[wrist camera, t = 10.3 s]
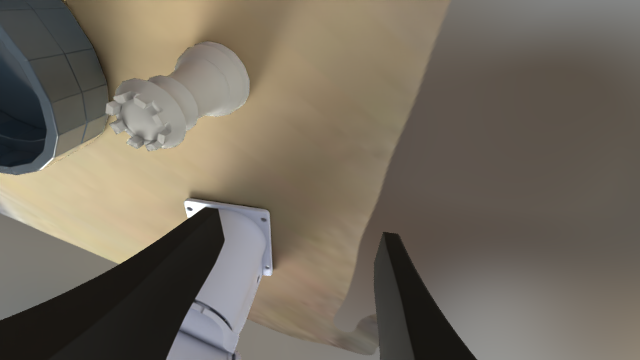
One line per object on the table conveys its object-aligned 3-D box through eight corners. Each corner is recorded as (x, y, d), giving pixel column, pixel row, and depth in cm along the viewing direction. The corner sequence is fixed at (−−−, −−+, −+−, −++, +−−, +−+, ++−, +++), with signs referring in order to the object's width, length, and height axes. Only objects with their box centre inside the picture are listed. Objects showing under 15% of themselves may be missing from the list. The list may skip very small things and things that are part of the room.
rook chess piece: (198, 109, 19) (113, 167, 13) (177, 40, 17) (57, 68, 10) (257, 110, 19) (200, 171, 12) (245, 39, 16) (165, 68, 9)
